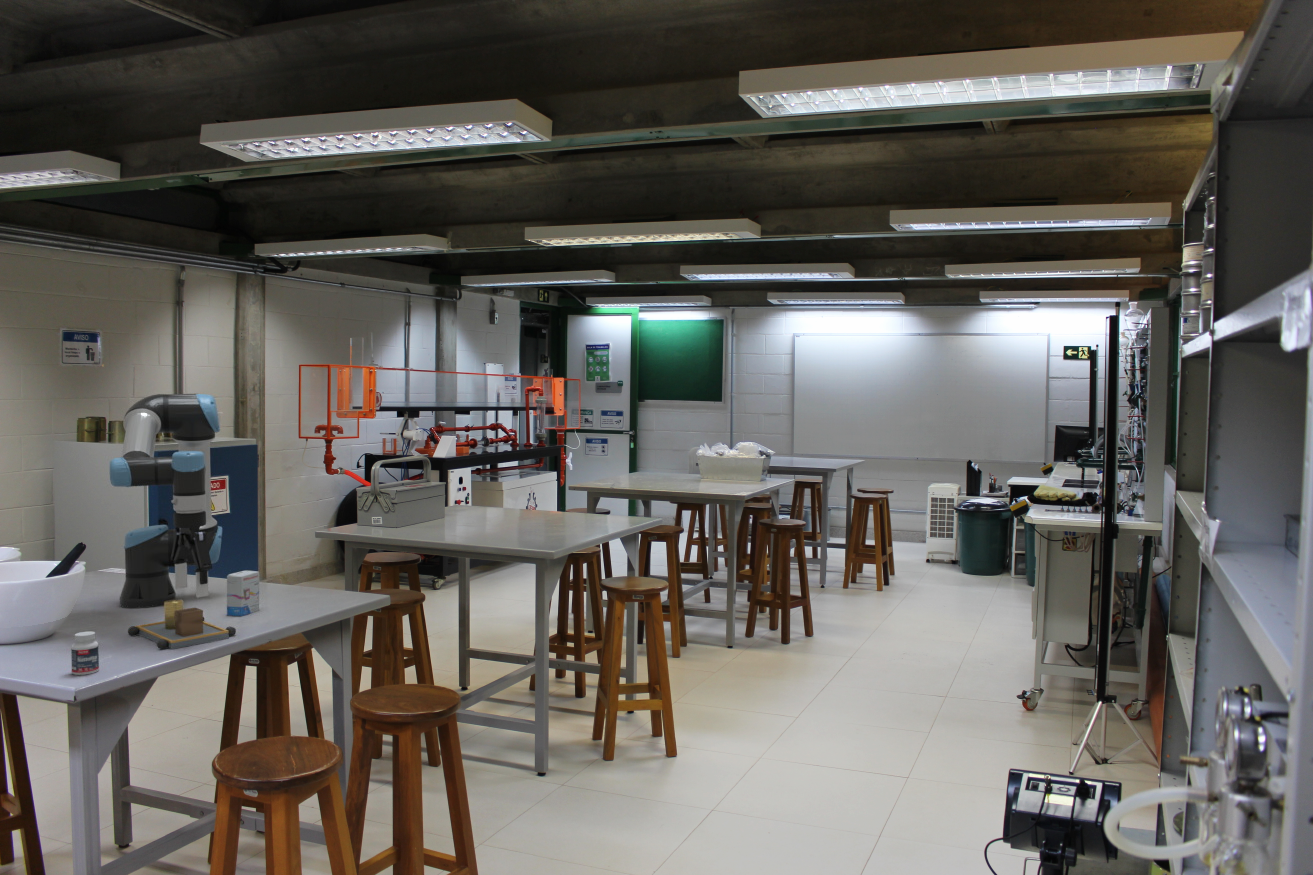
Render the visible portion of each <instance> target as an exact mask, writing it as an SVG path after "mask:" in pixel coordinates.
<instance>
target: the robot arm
mask: <svg viewBox="0 0 1313 875" xmlns="http://www.w3.org/2000/svg"><path fill="white" fill-rule="evenodd" d="M122 425H123V428H124V431H125V434H124V440H123V445H122V451H121V456H120V457H117V458H116V457H115V458H111V460H110V462H109V480H110V481H109V482H110V485H111V486H113V487H117V488H119V487H121V488H123V487H125V488H130V487H147V486H148V487H150V486H172V500H171V501H170V502H171V504H173V505H172V506H173V510H174V511H175V512H174V513H173V516H172V517H173V526H174V527H175V528H173V529H169V526H168V525H167V524H160V525H159V524H156V525H150V526H145V527H141V528H140V527H139V528H137V529H136V528H135V529H132V530H130V531H128V532H127V533H126V534H125V537H124V546H123V549H124V557H125V558H124V560H125V561H124V562H125V563H124V566H125V567H124V568H125V579H124V580H125V581H124V584H123V587H122V590H121V593H120V596H119V599H118V600H119V606H120V607H122V608H129V609H132V608H133V609H134V608H135V609H139V608H150V607H157V606H158V607H159V606H164V602H165V601H168V600H177V594H176V590H179V589H184V588H185V589H186V588H188V567H189V566H190V567H191V566H195V567H196V568H195V569H194V573H195V591H196V592H195V595H196V596H195V597H196V598H204V597H209V595H210V594H209V571H210V570H212V569H213V564H215V563H217V562H218V561H219V558H220V556H221V555H220V554H221V545H222V537H223V526H219V525H218V521H217V520H216V519H215V518H214V517H213V516H212V514H213V512H212V481H211V479H212V478H211V477H212V476H211V442H213V440H214V439H215V438H216V433H219V432H221V426H220V420H219V414H218V408H217V403H216V399H215V397H214V396H213V395H212V394H204V393H203V394H201V393H200V394H199V393H170V394H169V393H168V394H167V393H165V394H164V393H157V394H152V395H149V396H148V395H147V396H146V397H144V398H142V399H139V400H138V401H136V402H135V403H134V404H133V405H131V406H130V407H129V408H128V410H127V411H126V412H125V414H124V417H123V422H122ZM162 433H163V434H164V433H165V434H169V433H170V434H172V440H173V441H175V443H177V445H178V451H175V452H173V454H172V456H155V445H156V440H157V438H156V436H157V435H158V434H162ZM170 568H174V576H175V577H174V579H175V580H174V581H175V582H174V584H175V586H173V583H172V580H171V578H170V571H169V570H170ZM175 589H176V590H175Z"/></svg>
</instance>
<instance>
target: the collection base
mask: <svg viewBox="0 0 1313 875" xmlns="http://www.w3.org/2000/svg"><path fill="white" fill-rule="evenodd" d="M236 633H237V630H236V628H235V627H233V626H227V627H226V628H222V627H220V626H217V625H215V624H212V623H210V622H207V621H205V617H204V616H203V633H201V634H196V635H190V636H185V637H182V636H180V635H177V634H175V629H165V620H162V621H158V622H156V621H155V622H151V623H146V624H139V625H136V626H135V625H132V626H130V627H129V628H128V629H127V634H128V635H130V636H132V637H135V636H137V635H138V636H140V637H141V636H142V637H143V638H146V639H147V640H150V641H152V642H155V643H156V648H158V649H160V650H166V649H170V650H175V649H179V648H185V647H191V646H196V645H200V644H206V643H212V642H217V641H223V640H227V639H229V637H233V636H235V635H236Z"/></svg>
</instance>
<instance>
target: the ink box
mask: <svg viewBox="0 0 1313 875" xmlns="http://www.w3.org/2000/svg"><path fill="white" fill-rule="evenodd" d="M258 611H260V571H255V570H242V571H238V572H233V573H229V574H228V575H227V576H226V616H231V617H243V616H247V615H249V614H253V613H255V612H258Z"/></svg>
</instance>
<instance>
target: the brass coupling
mask: <svg viewBox="0 0 1313 875" xmlns="http://www.w3.org/2000/svg"><path fill="white" fill-rule="evenodd" d="M163 606H164V610H163V611H164V621H165V629H175V611H176V610H182V609H184V600H183V599H176V600H168V601H165V602H164V605H163Z"/></svg>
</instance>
